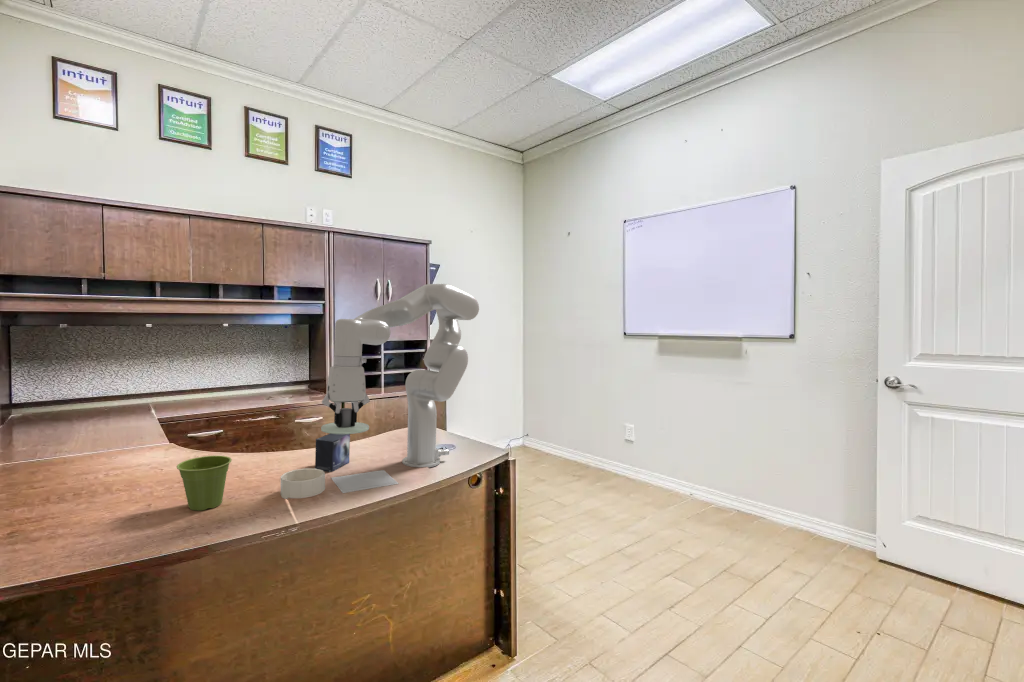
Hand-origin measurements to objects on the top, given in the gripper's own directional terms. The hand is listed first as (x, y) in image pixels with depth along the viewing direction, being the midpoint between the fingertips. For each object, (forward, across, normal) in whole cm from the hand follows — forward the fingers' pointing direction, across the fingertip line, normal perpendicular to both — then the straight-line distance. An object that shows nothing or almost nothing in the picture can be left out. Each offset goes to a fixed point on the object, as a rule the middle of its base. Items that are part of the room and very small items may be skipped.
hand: (345, 425), depth 140 cm
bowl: (+18, +11, -1) cm, 21 cm away
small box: (+18, -2, -18) cm, 26 cm away
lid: (+1, 0, 0) cm, 1 cm away
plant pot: (+19, +34, -3) cm, 39 cm away
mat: (+18, -6, 0) cm, 19 cm away
